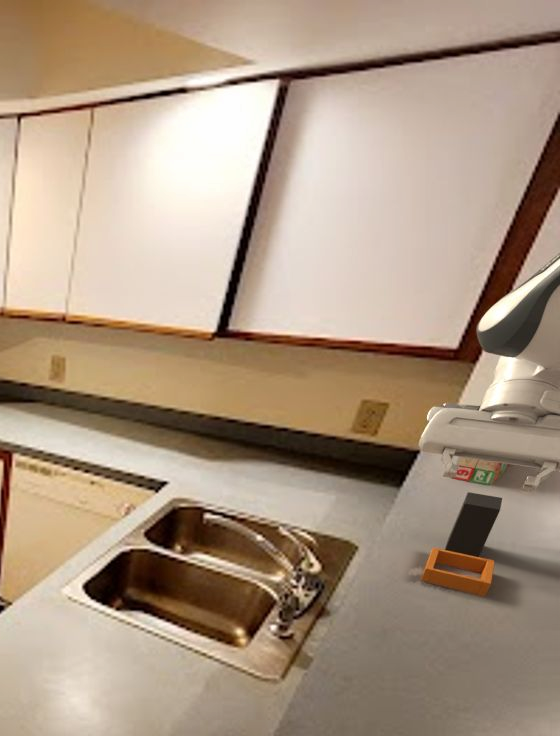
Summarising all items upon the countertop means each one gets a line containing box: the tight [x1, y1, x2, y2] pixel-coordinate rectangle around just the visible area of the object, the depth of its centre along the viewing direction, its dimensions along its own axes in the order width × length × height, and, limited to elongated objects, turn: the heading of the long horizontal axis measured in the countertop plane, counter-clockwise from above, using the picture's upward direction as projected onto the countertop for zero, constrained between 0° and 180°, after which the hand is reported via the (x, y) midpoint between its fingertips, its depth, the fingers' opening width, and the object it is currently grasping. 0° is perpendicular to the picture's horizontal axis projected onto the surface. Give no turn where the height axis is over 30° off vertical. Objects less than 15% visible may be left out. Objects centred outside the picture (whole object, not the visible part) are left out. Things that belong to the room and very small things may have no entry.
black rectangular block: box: [444, 491, 503, 558], centre depth 99 cm, size 4×6×10 cm, turn 135°
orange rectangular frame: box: [420, 547, 496, 597], centre depth 93 cm, size 8×11×4 cm
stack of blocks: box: [453, 457, 512, 486], centre depth 131 cm, size 21×6×12 cm, turn 126°
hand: (487, 482), depth 101 cm, fingers open, 8 cm apart
